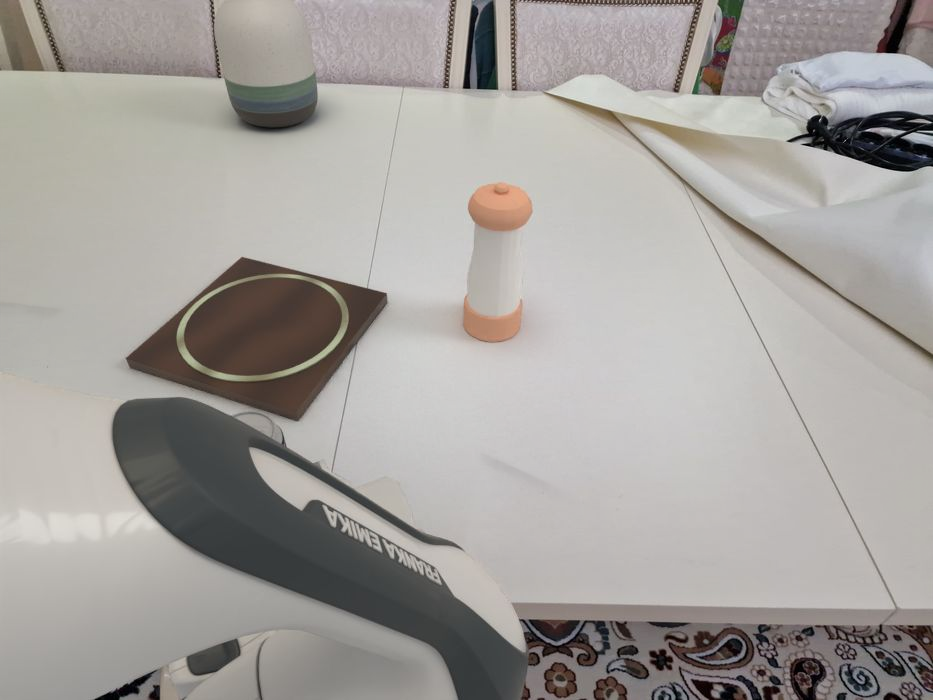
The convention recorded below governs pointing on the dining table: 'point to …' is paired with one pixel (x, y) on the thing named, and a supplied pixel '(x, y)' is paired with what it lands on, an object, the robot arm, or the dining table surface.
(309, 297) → the brown flat square board
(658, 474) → the dining table surface
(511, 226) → the pepper shaker
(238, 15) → the vase
